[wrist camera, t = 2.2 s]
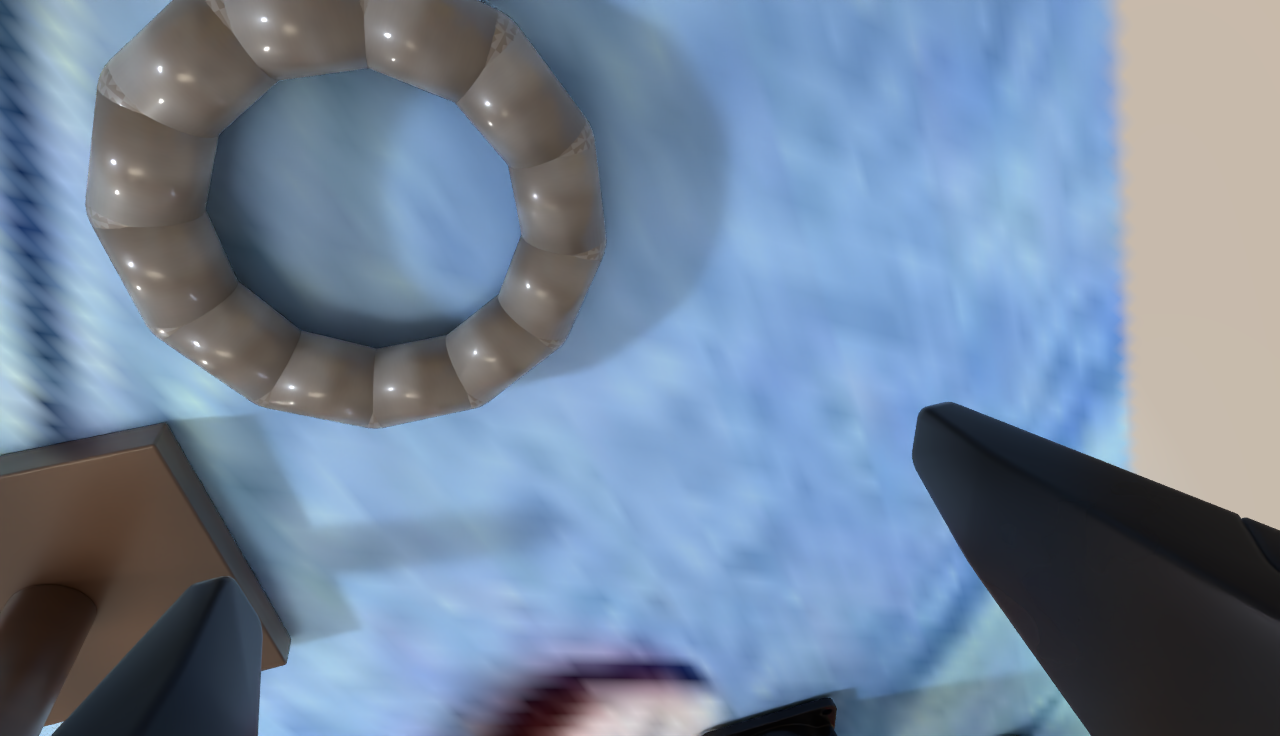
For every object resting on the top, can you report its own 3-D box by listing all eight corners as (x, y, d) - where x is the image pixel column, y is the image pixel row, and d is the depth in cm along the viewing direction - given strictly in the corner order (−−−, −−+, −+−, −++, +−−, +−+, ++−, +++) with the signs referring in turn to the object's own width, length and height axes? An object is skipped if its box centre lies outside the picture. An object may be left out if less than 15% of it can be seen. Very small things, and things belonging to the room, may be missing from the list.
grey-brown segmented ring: (560, -74, 15) (576, -73, 13) (614, 352, 20) (630, 390, 19) (1, -12, 13) (-61, -2, 11) (231, 430, 19) (212, 480, 17)
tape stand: (166, 420, 18) (67, 608, 13) (292, 638, 23) (254, 833, 18) (-240, 502, 17) (-518, 745, 12) (-14, 715, 22) (-145, 948, 17)
